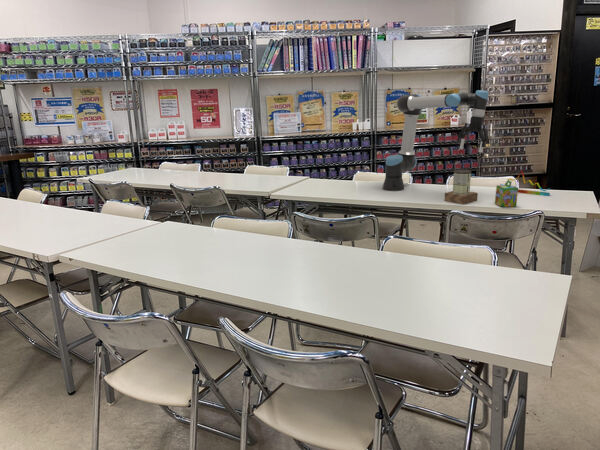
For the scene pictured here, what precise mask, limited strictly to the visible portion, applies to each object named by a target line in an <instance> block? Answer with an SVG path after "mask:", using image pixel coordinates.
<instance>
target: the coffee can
mask: <svg viewBox="0 0 600 450" xmlns="http://www.w3.org/2000/svg"><path fill="white" fill-rule="evenodd" d="M471 175H472V169H466V168H465V169H463V168H462V169H461V168H460V169H459V168H458V169H454V170H453V180H452V191H453V193H454V194H458V195H466V194H469V193H470V192H471V191H470V189H471V178H472V177H471Z"/></svg>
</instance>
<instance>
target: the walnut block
mask: <svg viewBox="0 0 600 450" xmlns="http://www.w3.org/2000/svg"><path fill="white" fill-rule="evenodd" d="M478 195H479V192H475V191H470V193H469V194H466V195H458V194H454V193H453V190H451V191H447V192H444V201H445V202H449V203H453V204H454V203H455V204H461V205H467V204H471V203H474V202H477V201H478Z"/></svg>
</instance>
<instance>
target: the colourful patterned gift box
mask: <svg viewBox="0 0 600 450" xmlns="http://www.w3.org/2000/svg"><path fill="white" fill-rule="evenodd" d="M506 182H507V183H506ZM506 182H505V183H506V185H505V184H503V185H499V184H497V185H496V188H495V197H494V198H495V199H494V204H495V205H497V206H499V207H500V208H510V207H511V208H516V207H517V203H518V194H519V193H518V189H519V187H517V186H515V185H512V182H513V181H512V180H509V181H508V180H506Z"/></svg>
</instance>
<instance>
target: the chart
mask: <svg viewBox="0 0 600 450" xmlns="http://www.w3.org/2000/svg"><path fill="white" fill-rule="evenodd" d="M521 175H522V180H523V183H524V184H526V183H528V182H529V184H530V185H531V186H535V185H537V187H538V188H539V190H540V191H538V190H537V191H536V190H530V189H529V190H527V189H520V188H518V194H527V195H535V196H544V197H550V195H551V193H550V192H546V191H549V190H550V188H547V189H543V188H542V187H541V186H540V184H539V182H535V183H533V182H532V180H530V179H529V180H527V181H526V179H525V175H524V171H523V169H522V170H521V171H520V172H519V174H518V176H517V177H516V178H514V179H513V178H508V179H507V181H511V182H513V181H516V180H518V179H519V177H520V176H521ZM507 181H506V182H505V183H504V184H502V183H500V185H506V183H507Z"/></svg>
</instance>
